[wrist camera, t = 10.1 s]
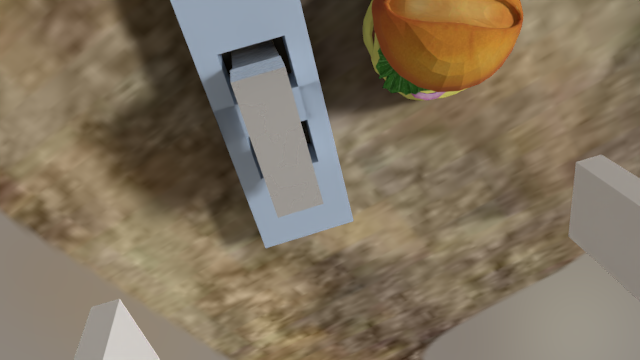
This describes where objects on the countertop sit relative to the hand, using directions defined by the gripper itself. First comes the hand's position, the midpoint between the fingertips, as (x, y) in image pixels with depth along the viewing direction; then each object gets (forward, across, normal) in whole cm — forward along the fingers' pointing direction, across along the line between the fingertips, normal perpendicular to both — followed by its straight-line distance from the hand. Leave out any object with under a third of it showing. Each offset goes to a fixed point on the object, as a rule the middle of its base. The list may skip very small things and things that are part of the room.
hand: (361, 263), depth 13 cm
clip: (+23, -2, -3) cm, 23 cm away
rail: (+23, -2, -3) cm, 23 cm away
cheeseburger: (+24, +11, 0) cm, 26 cm away
